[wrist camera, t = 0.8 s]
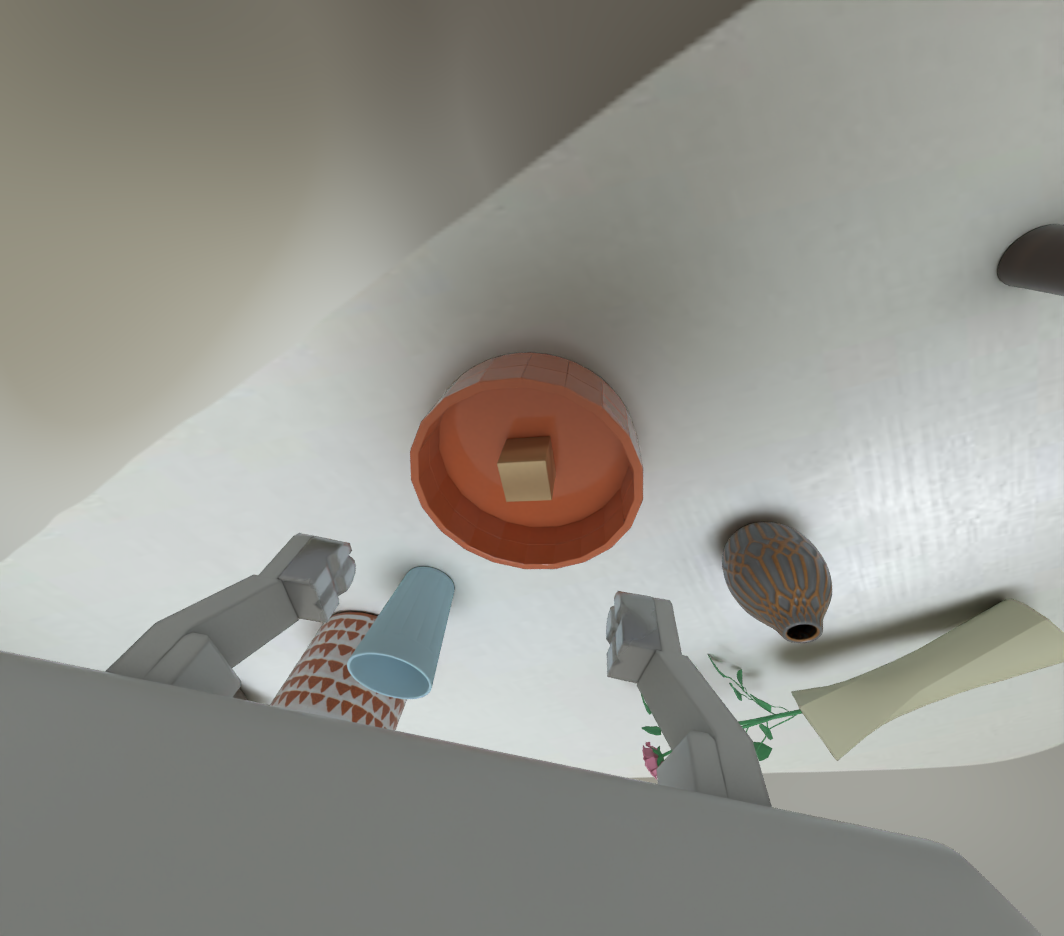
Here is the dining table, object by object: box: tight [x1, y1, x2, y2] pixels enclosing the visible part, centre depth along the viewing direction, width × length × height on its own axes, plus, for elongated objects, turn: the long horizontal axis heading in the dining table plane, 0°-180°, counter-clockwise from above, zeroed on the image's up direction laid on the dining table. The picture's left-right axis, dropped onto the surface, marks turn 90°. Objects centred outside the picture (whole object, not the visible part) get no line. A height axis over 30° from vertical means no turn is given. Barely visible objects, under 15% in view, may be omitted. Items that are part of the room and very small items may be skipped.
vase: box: [722, 522, 832, 643], centre depth 29 cm, size 7×7×9 cm
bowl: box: [410, 352, 643, 569], centre depth 29 cm, size 16×16×5 cm
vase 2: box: [270, 612, 407, 730], centre depth 46 cm, size 14×14×13 cm
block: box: [497, 436, 556, 502], centre depth 29 cm, size 4×4×4 cm
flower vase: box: [641, 599, 1064, 779], centre depth 37 cm, size 12×12×35 cm
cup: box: [347, 567, 454, 699], centre depth 38 cm, size 8×8×10 cm
